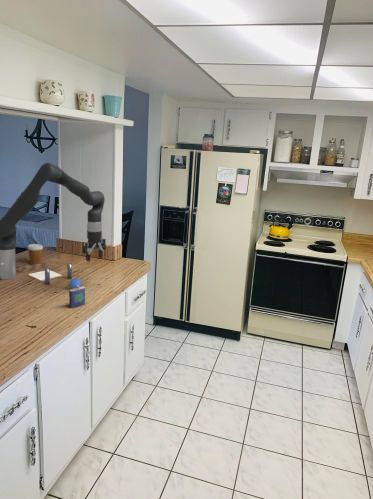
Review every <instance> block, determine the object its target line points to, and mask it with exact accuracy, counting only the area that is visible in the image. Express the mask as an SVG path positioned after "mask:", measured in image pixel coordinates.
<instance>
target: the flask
mask: <svg viewBox="0 0 373 499" xmlns="http://www.w3.org/2000/svg"><path fill="white" fill-rule="evenodd" d="M76 286H77V287H76V289H73V288H70V289H69V291H68V299H69V300H68V302H69V304H68V305H69V309H75V308H79V307H81V306H84V305H85V304H86V286H83V285H81V286H80V287H79V286H78V285H76Z"/></svg>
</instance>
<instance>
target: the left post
mask: <svg viewBox="0 0 373 499" xmlns="http://www.w3.org/2000/svg"><path fill="white" fill-rule="evenodd" d="M50 269H51V268H50V267H45V268H44V271H45V280H44V285H45V286H47V285H51V278H50Z"/></svg>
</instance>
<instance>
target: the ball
mask: <svg viewBox="0 0 373 499" xmlns="http://www.w3.org/2000/svg"><path fill="white" fill-rule="evenodd" d="M76 285H78V286H79V287H82V281H81V280H80V279H79V278H77V277H75V278H72V279H70V282H69V286H70V287H71V288H70V289H76V287H77V286H76Z"/></svg>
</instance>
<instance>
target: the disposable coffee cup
mask: <svg viewBox="0 0 373 499" xmlns="http://www.w3.org/2000/svg"><path fill="white" fill-rule="evenodd" d="M43 249H44V246H43V245H42V244H39V243H32V244H28V245H27V250H28V256H29V262H30V264H31V265H35V264H41V263H42V257H43V256H42V255H43Z"/></svg>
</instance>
